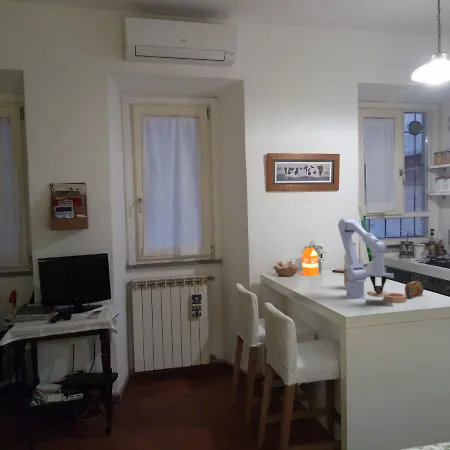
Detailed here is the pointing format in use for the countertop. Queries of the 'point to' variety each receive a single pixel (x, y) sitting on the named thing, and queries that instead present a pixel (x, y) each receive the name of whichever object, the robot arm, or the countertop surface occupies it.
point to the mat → (378, 303)
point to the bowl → (396, 298)
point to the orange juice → (310, 262)
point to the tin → (414, 289)
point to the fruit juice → (347, 267)
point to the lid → (378, 292)
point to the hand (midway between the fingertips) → (378, 291)
